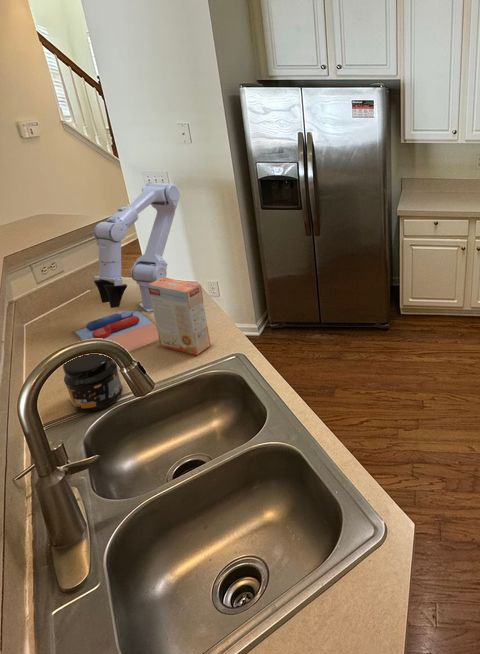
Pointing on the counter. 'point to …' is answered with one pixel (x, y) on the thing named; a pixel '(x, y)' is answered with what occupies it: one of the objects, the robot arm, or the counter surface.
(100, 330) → the red spoon
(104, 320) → the blue spoon
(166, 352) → the counter surface
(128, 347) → the sorting mat
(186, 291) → the cracker box
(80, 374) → the supplement container
